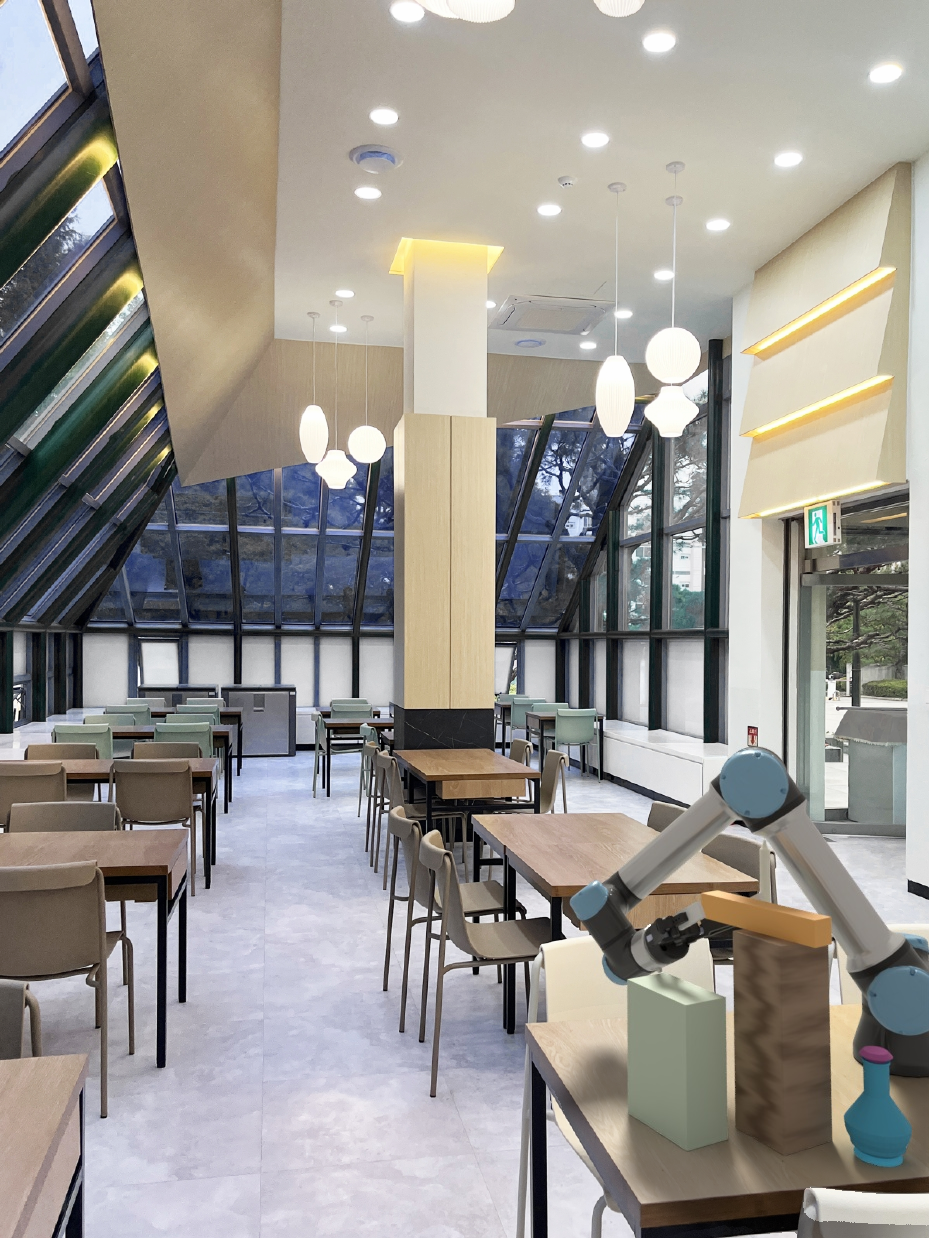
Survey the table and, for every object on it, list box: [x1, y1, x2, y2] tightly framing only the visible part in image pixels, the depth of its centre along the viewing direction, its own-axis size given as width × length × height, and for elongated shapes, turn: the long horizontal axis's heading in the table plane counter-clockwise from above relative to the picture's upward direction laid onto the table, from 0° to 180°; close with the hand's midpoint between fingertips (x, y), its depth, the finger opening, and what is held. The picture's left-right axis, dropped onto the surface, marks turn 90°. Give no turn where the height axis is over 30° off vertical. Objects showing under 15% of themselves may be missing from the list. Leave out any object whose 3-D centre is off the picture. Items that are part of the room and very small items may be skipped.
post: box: [732, 928, 833, 1156], centre depth 144 cm, size 10×10×30 cm
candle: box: [758, 837, 772, 903], centre depth 194 cm, size 10×10×38 cm
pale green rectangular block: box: [626, 972, 729, 1152], centre depth 146 cm, size 14×8×21 cm, turn 28°
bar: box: [700, 889, 833, 948], centre depth 148 cm, size 22×4×4 cm, turn 34°
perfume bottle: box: [843, 1046, 913, 1168], centre depth 137 cm, size 9×9×15 cm
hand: (732, 904), depth 154 cm, fingers open, 13 cm apart
